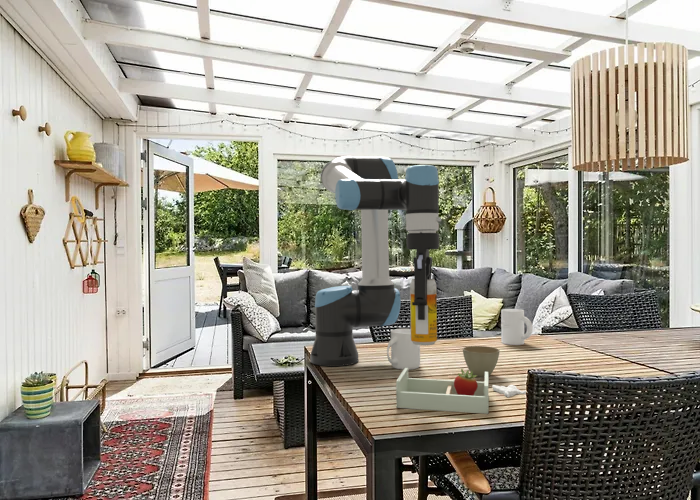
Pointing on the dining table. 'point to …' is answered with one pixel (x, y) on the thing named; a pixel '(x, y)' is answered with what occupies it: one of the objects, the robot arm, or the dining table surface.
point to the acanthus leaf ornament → (507, 390)
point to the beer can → (432, 315)
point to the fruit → (465, 383)
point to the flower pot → (481, 359)
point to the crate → (439, 395)
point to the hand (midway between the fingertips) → (423, 331)
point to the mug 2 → (514, 326)
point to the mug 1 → (403, 350)
